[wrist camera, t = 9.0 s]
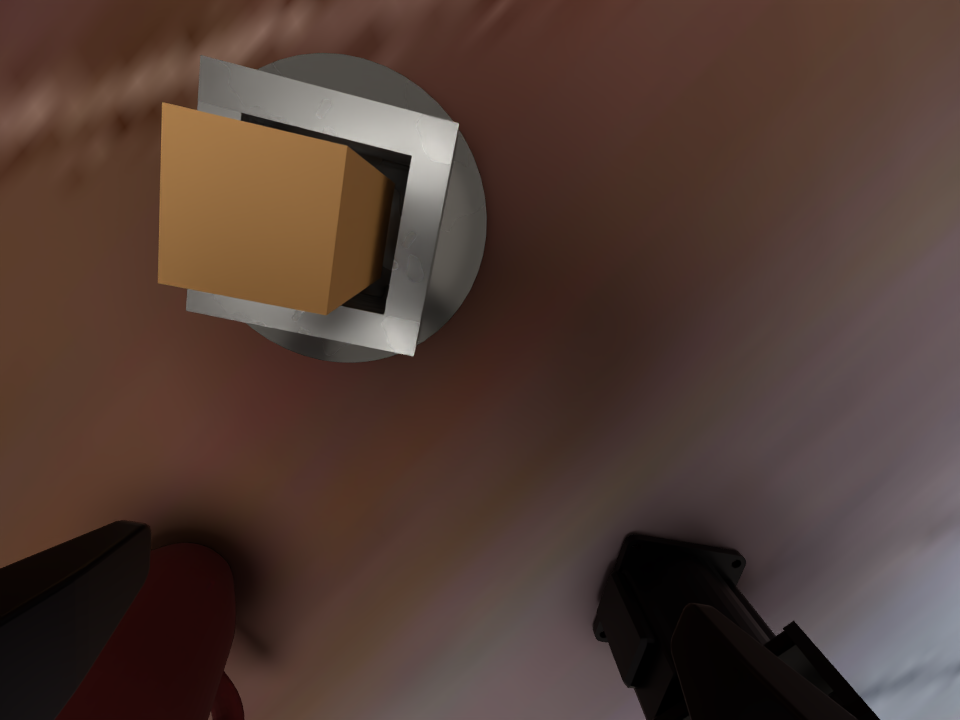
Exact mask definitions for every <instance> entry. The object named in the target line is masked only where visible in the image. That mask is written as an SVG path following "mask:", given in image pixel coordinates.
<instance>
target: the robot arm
mask: <svg viewBox="0 0 960 720" xmlns="http://www.w3.org/2000/svg"><path fill="white" fill-rule="evenodd" d="M634 544H638V545H637V546H635V547H632V546H633V545H634ZM150 551H151V529H150V526H149V525H147V524H145V523H140V522H133V521H126V520H120V521H116V522H113V523H111V524H108V525H106V526H103V527H101V528H98V529H96V530H94V531H91V532H89V533H86V534H84V535H81V536H79V537H76V538H74V539H71V540H69V541H67V542H64V543H62V544H59V545H57V546H54V547H52V548H49V549H47V550H44V551H42V552H40V553H37V554H35V555H32V556H30V557H27V558H25V559H22V560H20V561H17V562H15V563H13V564H10V565H8V566H5V567H3V568H0V720H55V718H56V717H57V716H58V714H59V713H60V712H61V711H62V709H63V708H64V706H65V705H66V704H67V702H68V701H69V700H70V698H71V697H72V695H73V694H74V693H75V691H76V690H77V688H78V687H79V685H80V684H81V682H82V681H83V679H84V678H85V676H86V675H87V673H88V672H89V670H90V669H91V667H92V666H93V664H94V662H95V661H96V659H97V658H98V656H99V654H100V653H101V651H102V650H103V648H104V647H105V645H106V643H107V642H108V640H109V639H110V637H111V635H112V634H113V632H114V631H115V629H116V628H117V626H118V624H119V623H120V621H121V620H122V618H123V616H124V615H125V613H126V612H127V610H128V609H129V607H130V605H131V604H132V602H133V601H134V599H135V597H136V596H137V594H138V593H139V591H140V590H141V588H142V586H143V585H144V583H145V581H146V579H147V576H148V573H149V569H150ZM733 561H734V562H733ZM745 564H746V560H745V558H744V557H743V556H742V555H741V554H740V553H739V552H738V551H735V550H729V549H723V548H717V547H711V546H705V545H698V544H692V543H686V542H680V541H674V540H668V539H662V538H656V537H650V536H643V535H637V534H633V535H630V536H628V537H627V538H626V539H625V541H624V544H623V546H622V549H621V552H620V555H619V557H618V560H617V563H616V566H615V568H614V571H613V572H612V573H611V574H610V576H609V579H608V582H607V585H606V587H605V590H604V593H603V596H602V598H601V601H600V604H599V607H598V609H597V614H598V615H597V618H596V620H595V623H594V626H593V632H594V634H595V637H596V639H597V640H598V641H601V642H608V643H609V646H610V648H611V651H612V654H613V656H614V659H615V661H616V664H617V667H618V669H619V672H620V675H621V677H622V680H623V682H624V683H625V685H626V686H627V687H628V688H634V690H635V692H636V695H637V697H638V700H639V702H640V705H641V707H642V710H643V712H644V715H645V718H646V720H880V719H879V718H878V717H877V715H876V714H875V713H874V712H873V711H872V710H871V709H870V707H869V706H868V705H867V704H866V703H865V702H864V701H863V699H862V698H861V697H860V696H859V695H858V694H857V693H856V691H855V690H854V689H853V688H852V687H851V686H850V685H849V683H848V682H847V681H846V680H845V679H844V678H843V677H842V675H841V674H840V673H839V672H838V671H837V670H836V668H835V667H834V666H833V665H832V664H831V663H830V662H829V660H828V659H827V658H826V657H825V656H824V655H823V654H822V652H821V651H820V650H819V649H818V648H817V647H816V646H815V644H814V643H813V642H812V641H811V640H810V639H809V638H808V636H807V635H806V634H805V633H804V632H803V631H802V630H801V628H800V627H799V626H798V625H797V624H796V623H795V622H794V621H793V622H791V623H790V624H788V625H787V626H785V627H784V628H783V629H784V631H783V632H782V633H780V634H779V635H777V636H775V634H774V633H773V632H772V631H771V629H770V628H769V627H768V626H767V624H766V623H765V622H764V621H763V619H762V618H761V617H760V616H759V614H758V613H757V612H756V611H755V609H754V608H753V607H752V606H751V604H750V603H749V602H748V601H747V599H746V598H745V597H744V595H743V594H742V593H741V592H740V590H739V589H738V588H737V587H736V585H737V583H738V580H739V578H740V576H741V574H742V572H743V569H744V567H745ZM602 631H603V632H602Z"/></svg>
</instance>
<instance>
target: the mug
mask: <svg viewBox="0 0 960 720" xmlns="http://www.w3.org/2000/svg"><path fill="white" fill-rule="evenodd" d="M235 624H236V601H235V590H234V579H233V574H232V572H231V569H230V567H229V565H228V564H227V562H226V561H225V560H224V559H223V557H222V556H221V555H219V554H218V553H217V552H215V551H213V550H212V549H210V548H208V547H205V546H202V545H199V544H194V543H177V544H172V545H168V546H165V547H161V548H158V549H155V550H152V551H150V569H149V573H148V576H147V579H146V581H145V583H144V585H143V586H142V588H141V590H140V591H139V593H138V594H137V596H136V597H135V599H134V601H133V602H132V604H131V605H130V607H129V609H128V610H127V612H126V613H125V615H124V616H123V618H122V620H121V621H120V623H119V624H118V626H117V628H116V629H115V631H114V632H113V634H112V635H111V637H110V639H109V640H108V642H107V643H106V645H105V647H104V648H103V650H102V651H101V653H100V654H99V656H98V658H97V659H96V661H95V662H94V664H93V666H92V667H91V669H90V670H89V672H88V673H87V675H86V676H85V678H84V679H83V681H82V682H81V684H80V685H79V687H78V688H77V690H76V691H75V693H74V694H73V695H72V697H71V698H70V700H69V701H68V702H67V704H66V705H65V706H64V708H63V709H62V711H61V712H60V713H59V714H58V716H57V717H56V718H55V720H208V718H209V715H210V711H211V713H212V718H213V720H244V711H243V705H242V702H241V698H240V696H239V694H238V691H237V689H236V688H235V686H234V684H233V683H232V681H231V680H230V679H229V677H228V676H227V675H226V673H225V672H224V668H225V665H226V661H227V658H228V655H229V652H230V649H231V645H232V641H233V637H234V632H235Z"/></svg>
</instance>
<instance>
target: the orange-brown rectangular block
mask: <svg viewBox="0 0 960 720" xmlns="http://www.w3.org/2000/svg"><path fill="white" fill-rule="evenodd" d="M394 187H395V183H394V182H392V181H391V180H390V179H389V178H387V177H386V176H385V175H384V174H382V173H381V172H380V171H379V170H377V169H376V168H375V167H373V166H372V165H371V164H370V163H368V162H367V161H366V160H365V159H363V158H362V157H361V156H360V155H358V154H357V153H356V152H355V151H353V150H352V149H351V148H349V147H348V146H346V145H342V144H338V143H333V142H329V141H325V140H321V139H316V138H312V137H308V136H304V135H299V134H295V133H291V132H287V131H282V130H278V129H274V128H270V127H265V126H261V125H257V124H253V123H248V122H244V121H240V120H236V119H232V118H227V117H223V116H219V115H215V114H210V113H206V112H202V111H198V110H193V109H189V108H185V107H181V106H176V105H172V104H168V103H164V102H162V132H161V175H160V217H159V260H158V283H160V284H165V285H171V286H176V287H181V288H186V289H191V290H197V291H202V292H207V293H212V294H217V295H223V296H228V297H233V298H238V299H243V300H249V301H254V302H259V303H264V304H269V305H275V306H280V307H285V308H290V309H295V310H301V311H306V312H311V313H316V314H321V315H328V314H329V313H330V312H332V311H333V310H335V309H336V308H338V307H339V306H341V305H342V304H343V303H345V302H346V301H348V300H349V299H351V298H352V297H353V296H355V295H356V294H358V293H359V292H361V291H362V290H364V289H365V288H366V287H368V286H369V285H371V284H372V283H374V282H375V281H377V280H378V279H379V278H381V273H382V266H383V260H384V253H385V246H386V240H387V233H388V227H389V220H390V214H391V207H392V201H393V194H394Z"/></svg>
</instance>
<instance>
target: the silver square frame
mask: <svg viewBox="0 0 960 720" xmlns="http://www.w3.org/2000/svg"><path fill="white" fill-rule="evenodd" d="M198 111H202V112H206V113H210V114H215V115H219V116H223V117H227V118H232V119H236V120H240V121H244V122H248V123H253V124H257V125H261V126H265V127H270V128H274V129H278V130H282V131H287V132H291V133H295V134H299V135H304V136H308V137H312V138H316V139H321V140H325V141H329V142H333V143H338V144H342V145H346V146H348V147H349V148H351V149H352V150H353V151H355V152H356V153H357V154H358V155H360V156H361V157H362V158H363V159H365V160H366V161H367V162H368V163H370V164H371V165H372V166H373V167H375V168H376V169H377V170H379V171H380V172H381V173H382V174H384V175H385V176H386V177H387V178H389V179H390V180H391V181H392V182H394V183H395V187H394V194H393V201H392V207H391V214H390V220H389V227H388V233H387V240H386V246H385V253H384V260H383V266H382V273H381V278H379V279H378V280H377V281H375V282H374V283H372V284H371V285H369V286H368V287H366V288H365V289H364V290H362V291H361V292H359V293H358V294H356V295H355V296H353V297H352V298H351V299H349V300H348V301H346V302H345V303H343V304H342V305H341V306H339V307H338V308H336V309H335V310H333V311H332V312H330V313H329V314H328V315H321V314H316V313H311V312H306V311H301V310H295V309H290V308H285V307H280V306H275V305H269V304H264V303H259V302H254V301H249V300H243V299H238V298H233V297H228V296H223V295H217V294H212V293H207V292H202V291H197V290H191V289H187V305H186V311H191V312H196V313H201V314H206V315H211V316H216V317H221V318H226V319H231V320H236V321H241V322H245V323H247V324H248V325H249V326H250V327H251V328H253V329H254V330H256V331H257V332H258V333H260V334H261V335H263V336H264V337H266V338H267V339H269V340H270V341H272V342H274V343H276V344H278V345H280V346H282V347H284V348H286V349H288V350H291V351H293V352H296V353H298V354H301V355H304V356H308V357H312V358H316V359H319V360H326V361H333V362H365V361H374V360H378V359H382V358H386V357H391V356H393V355H396V354H399V353H400V354H405V355H410V356H414V353H415V349H416V346H417V345H418V344H420V343H421V342H423V341H425V340H426V339H427V338H429V337H430V336H431V335H433V334H434V333H436V332H437V331H438V330H439V329H440V328H441V327H442V326H443V325H444V324H445V323H446V322H447V321H448V320H450V318H451V317H452V316H453V315H454V313H455V312H456V311H457V310H458V308H459V307H460V306H461V305H462V303H463V301H464V300H465V298H466V296H467V295H468V293H469V291H470V290H471V287H472V285H473V283H474V280H475V278H476V276H477V274H478V271H479V267H480V264H481V260H482V257H483V252H484V246H485V240H486V222H487V214H486V204H485V195H484V190H483V186H482V181H481V177H480V174H479V171H478V168H477V165H476V162H475V160H474V157H473V155H472V153H471V151H470V149H469V147H468V145H467V143H466V141H465V139H464V137H463V135H462V134H461V132H460V131H459V123H455V122H453V120H452V119H451V118H450V117H449V115H448V114H447V113H446V112H445V111H444V110H443V109H442V107H441V106H440V105H439V104H438V103H437V102H436V101H435V100H434V99H433V98H432V97H431V96H429V95H428V94H427V93H426V92H425V91H424V90H423V89H422V88H420V87H419V86H417V85H416V84H415V83H413V82H412V81H410V80H409V79H407V78H406V77H404V76H403V75H401V74H399V73H397V72H395V71H393V70H391V69H389V68H387V67H385V66H383V65H380V64H378V63H375V62H372V61H369V60H366V59H363V58H358V57H353V56H348V55H343V54H329V53H315V54H305V55H297V56H293V57H289V58H285V59H281V60H278V61H276V62H273V63H271V64H269V65H266V66H264V67H261V68H259V69H258V70H255V69H252V68H248V67H244V66H240V65H237V64H233V63H229V62H225V61H221V60H218V59H214V58H210V57H206V56H203V55H201V57H200V74H199V92H198Z"/></svg>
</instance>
